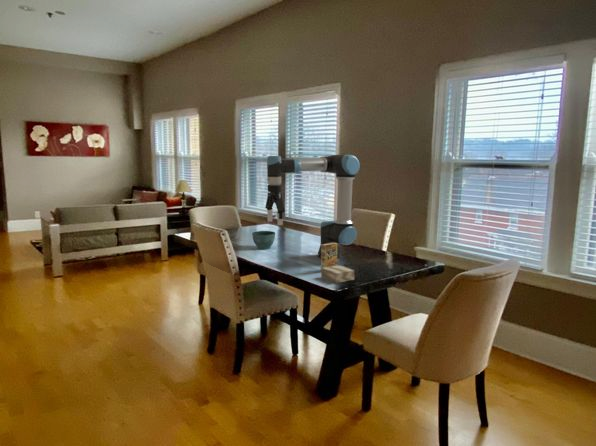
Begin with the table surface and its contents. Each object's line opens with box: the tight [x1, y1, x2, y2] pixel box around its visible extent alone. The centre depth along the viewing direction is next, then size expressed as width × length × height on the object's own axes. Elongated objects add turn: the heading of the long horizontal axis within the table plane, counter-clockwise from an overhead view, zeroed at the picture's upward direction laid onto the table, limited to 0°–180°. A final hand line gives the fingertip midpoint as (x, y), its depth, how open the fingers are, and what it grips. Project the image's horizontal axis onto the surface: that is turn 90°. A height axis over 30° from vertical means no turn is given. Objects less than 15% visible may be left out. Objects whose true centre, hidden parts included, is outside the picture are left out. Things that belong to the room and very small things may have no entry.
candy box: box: [320, 243, 338, 269], centre depth 246 cm, size 9×4×15 cm, turn 125°
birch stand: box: [320, 264, 356, 284], centre depth 230 cm, size 12×13×5 cm
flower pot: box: [251, 230, 276, 250], centre depth 304 cm, size 16×16×11 cm
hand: (275, 223), depth 239 cm, fingers open, 13 cm apart
